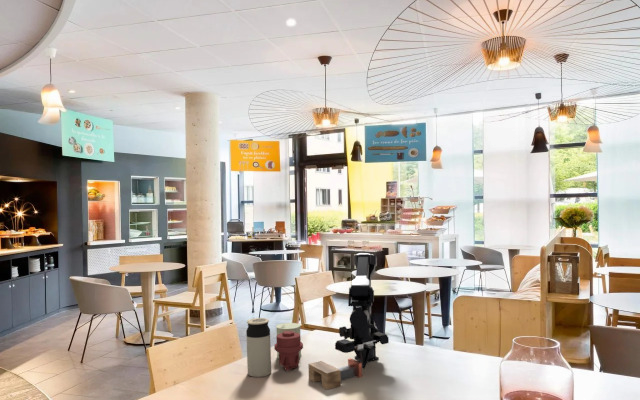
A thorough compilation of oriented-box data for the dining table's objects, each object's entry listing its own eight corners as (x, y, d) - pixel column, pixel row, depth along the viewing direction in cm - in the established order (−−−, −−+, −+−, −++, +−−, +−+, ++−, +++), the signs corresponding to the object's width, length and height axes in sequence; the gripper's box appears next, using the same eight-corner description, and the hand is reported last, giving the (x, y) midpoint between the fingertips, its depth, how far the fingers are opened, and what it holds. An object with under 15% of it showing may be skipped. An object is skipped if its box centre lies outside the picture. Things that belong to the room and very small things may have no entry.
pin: (351, 371, 167) (350, 358, 167) (362, 376, 162) (361, 362, 162) (331, 377, 163) (330, 363, 163) (341, 382, 157) (341, 368, 157)
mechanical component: (306, 363, 177) (299, 373, 167) (279, 362, 179) (271, 371, 169) (305, 328, 177) (298, 336, 167) (278, 328, 179) (270, 335, 169)
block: (321, 375, 164) (321, 360, 164) (340, 385, 154) (340, 369, 154) (308, 379, 161) (308, 363, 161) (327, 389, 152) (326, 373, 152)
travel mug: (275, 371, 170) (274, 318, 170) (263, 378, 163) (261, 324, 163) (255, 368, 173) (254, 316, 173) (243, 375, 166) (241, 322, 166)
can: (271, 357, 185) (270, 325, 185) (289, 351, 192) (288, 320, 192) (289, 362, 179) (288, 328, 179) (306, 355, 186) (305, 323, 186)
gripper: (368, 312, 178) (369, 356, 178) (325, 320, 168) (326, 367, 167) (389, 318, 168) (390, 364, 168) (344, 327, 158) (345, 376, 158)
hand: (363, 367), depth 166 cm, fingers closed
